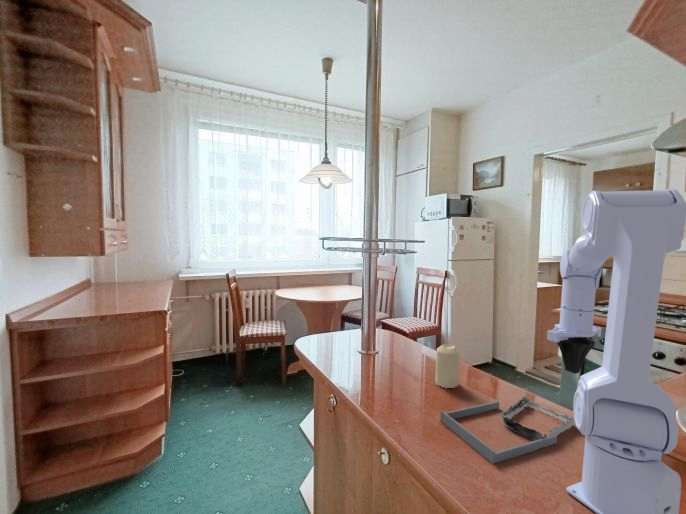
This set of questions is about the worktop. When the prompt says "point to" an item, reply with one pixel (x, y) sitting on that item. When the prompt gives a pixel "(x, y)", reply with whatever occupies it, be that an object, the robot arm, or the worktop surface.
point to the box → (481, 446)
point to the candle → (447, 366)
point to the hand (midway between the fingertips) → (572, 371)
